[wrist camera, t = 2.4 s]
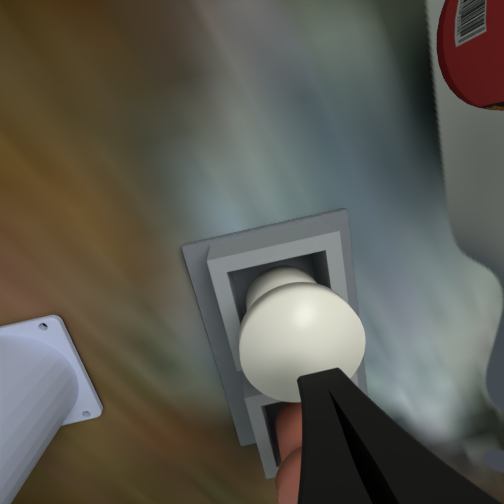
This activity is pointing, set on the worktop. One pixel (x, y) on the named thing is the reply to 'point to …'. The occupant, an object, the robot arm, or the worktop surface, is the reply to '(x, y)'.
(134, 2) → the worktop surface
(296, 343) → the cream plug
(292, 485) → the red plug
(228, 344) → the socket board
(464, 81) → the canned food
